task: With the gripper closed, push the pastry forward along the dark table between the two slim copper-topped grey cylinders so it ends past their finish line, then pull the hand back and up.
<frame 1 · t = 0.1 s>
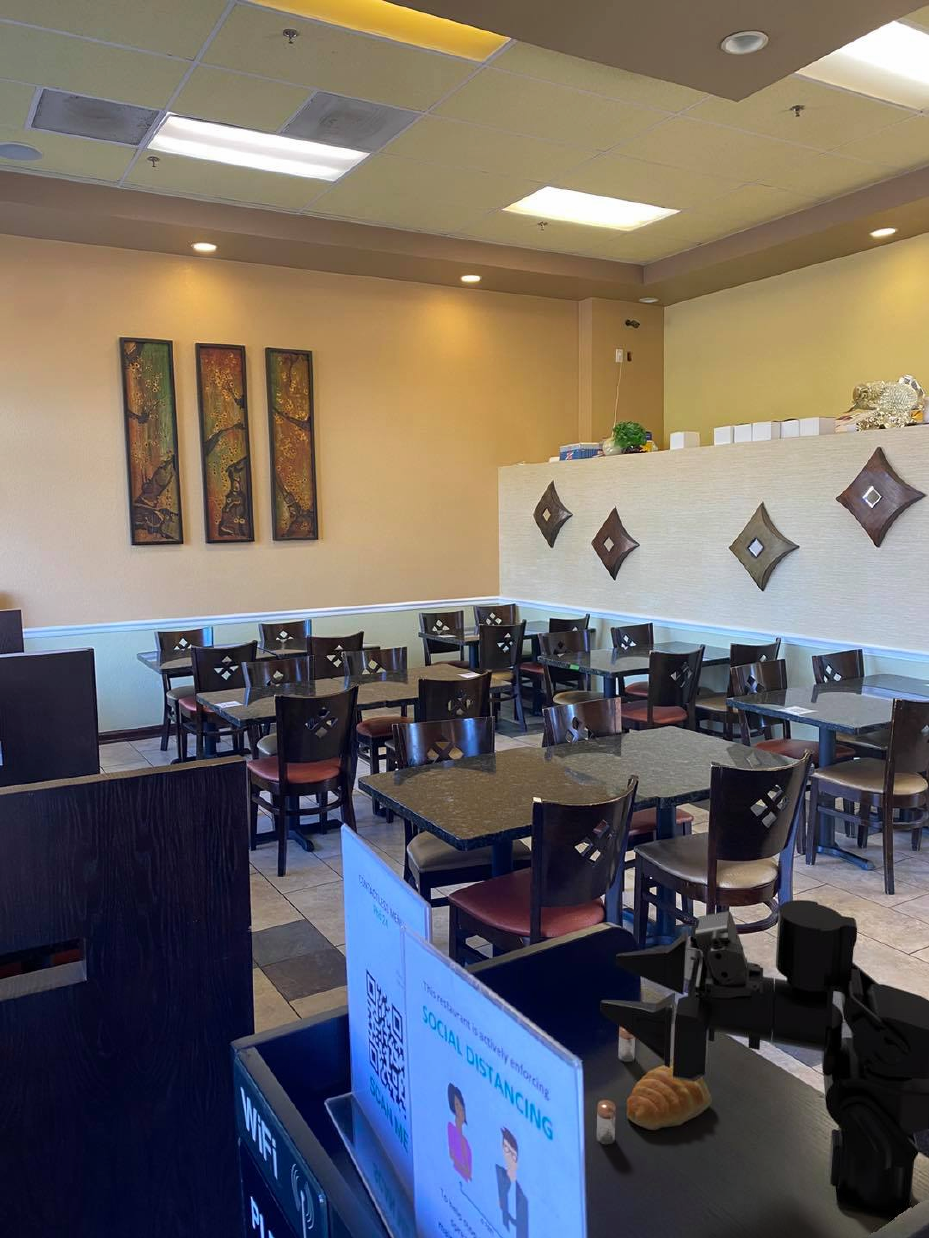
hand: (608, 981, 92), 17 cm above the table, tool horizontal, fingers open, 9 cm apart
pastry: (668, 1109, 98), on the table
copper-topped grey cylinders: (616, 1094, 100), on the table
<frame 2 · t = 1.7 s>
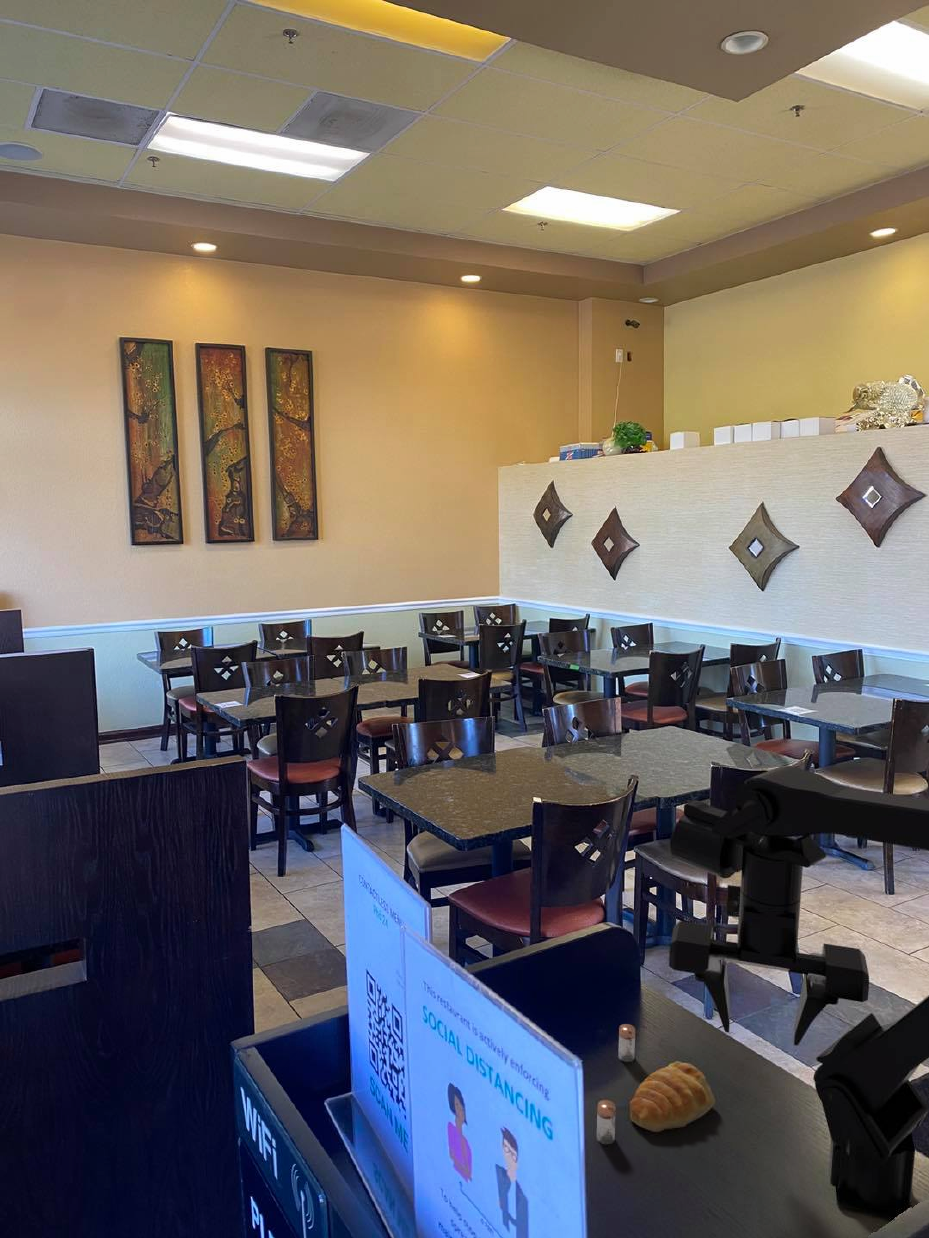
hand: (761, 1036, 94), 10 cm above the table, tool pointing down, fingers open, 6 cm apart
nothing on the table moved.
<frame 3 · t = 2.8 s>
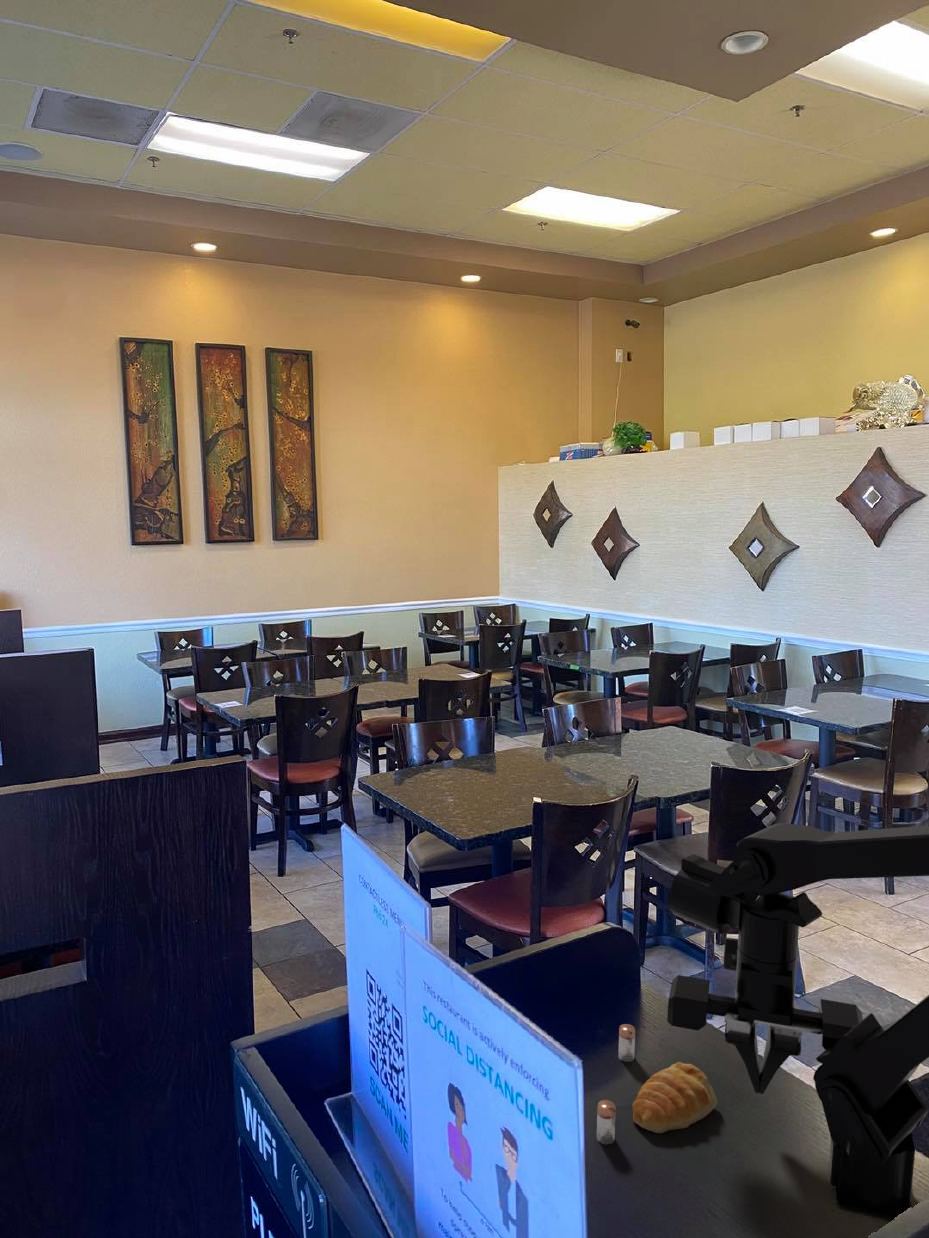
hand: (759, 1090, 95), 4 cm above the table, tool pointing down, fingers closed
nothing on the table moved.
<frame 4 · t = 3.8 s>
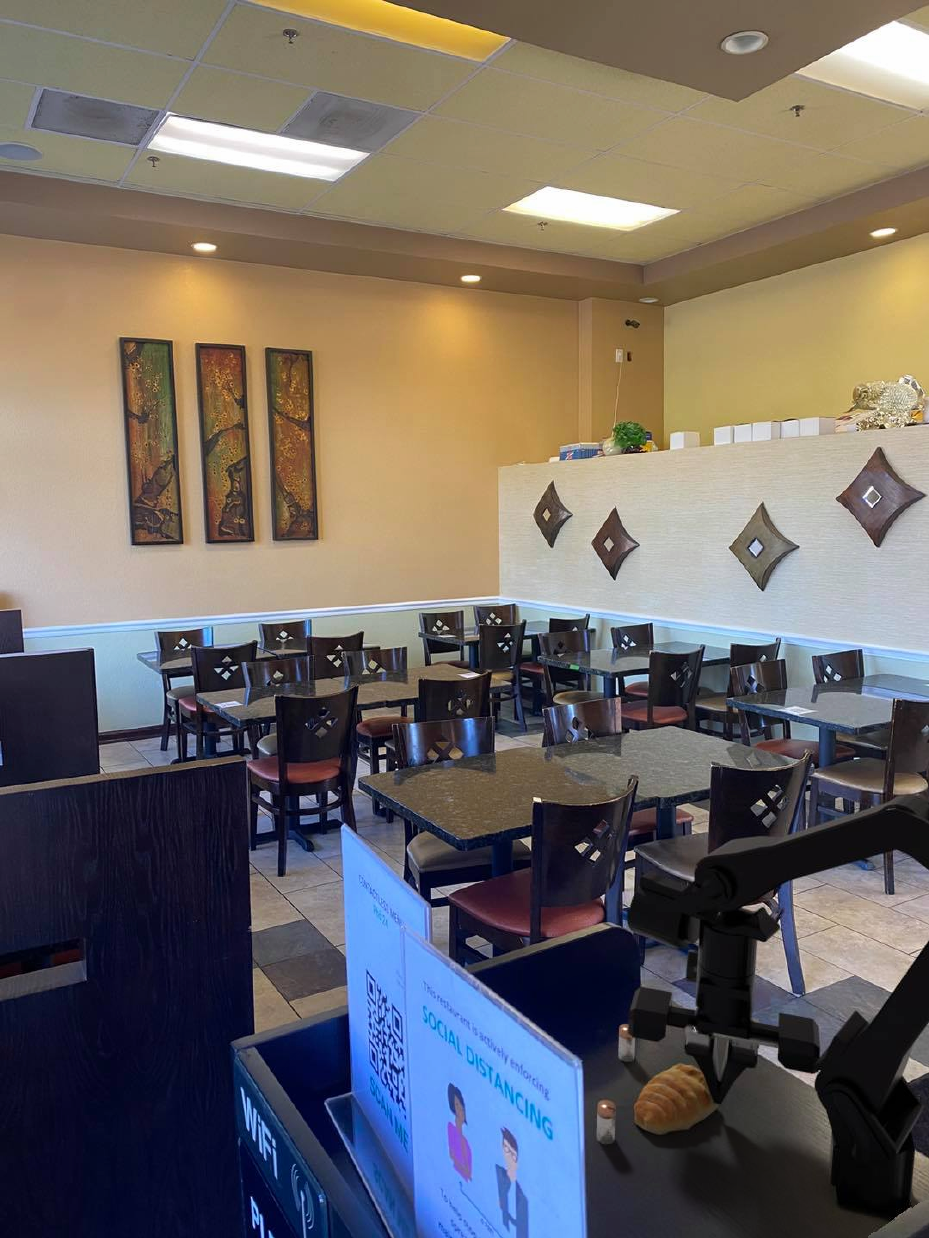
hand: (717, 1101, 97), 2 cm above the table, tool pointing down, fingers closed
pastry: (675, 1114, 98), on the table, touching gripper
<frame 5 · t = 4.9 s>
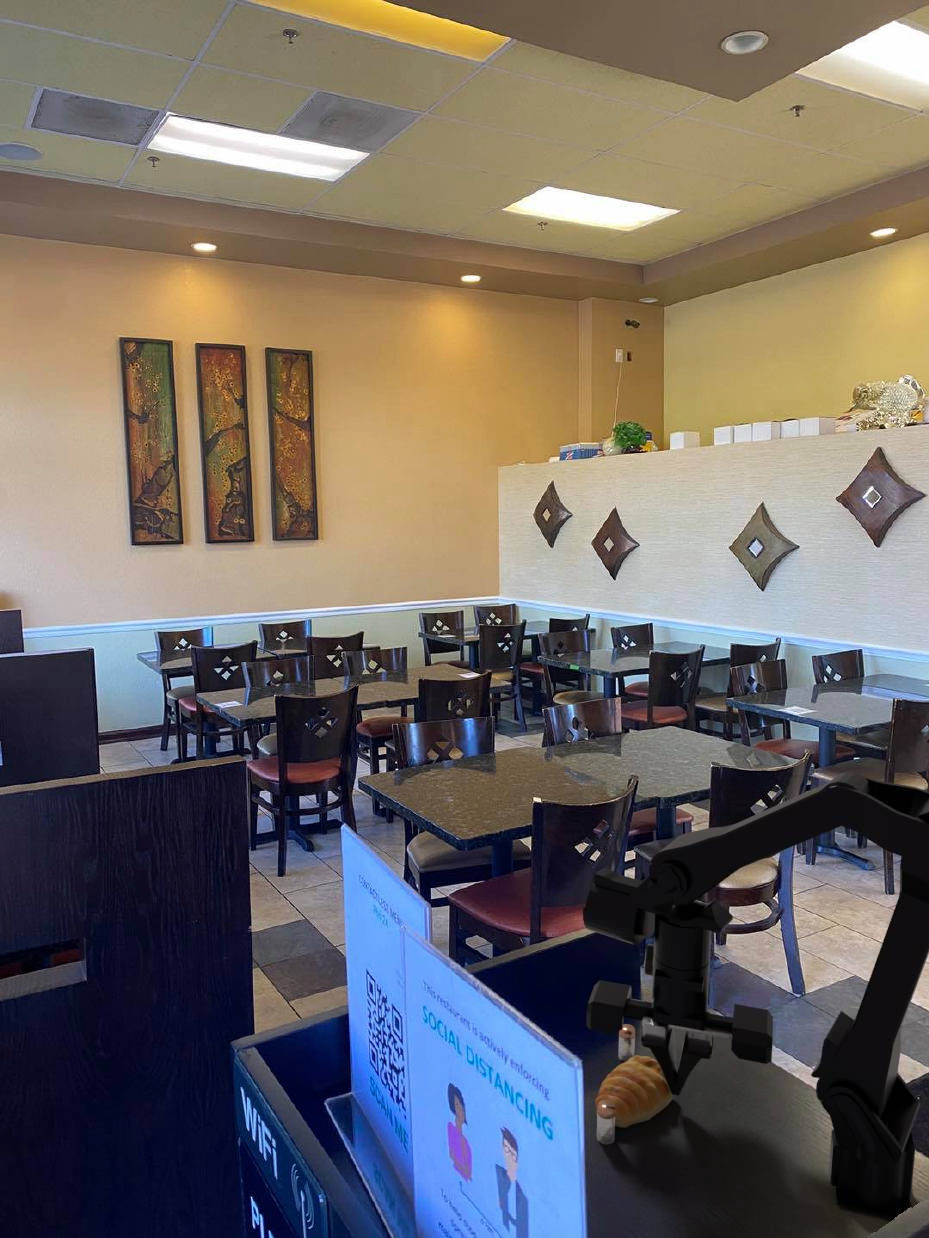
hand: (675, 1092, 98), 2 cm above the table, tool pointing down, fingers closed
pastry: (634, 1105, 99), on the table
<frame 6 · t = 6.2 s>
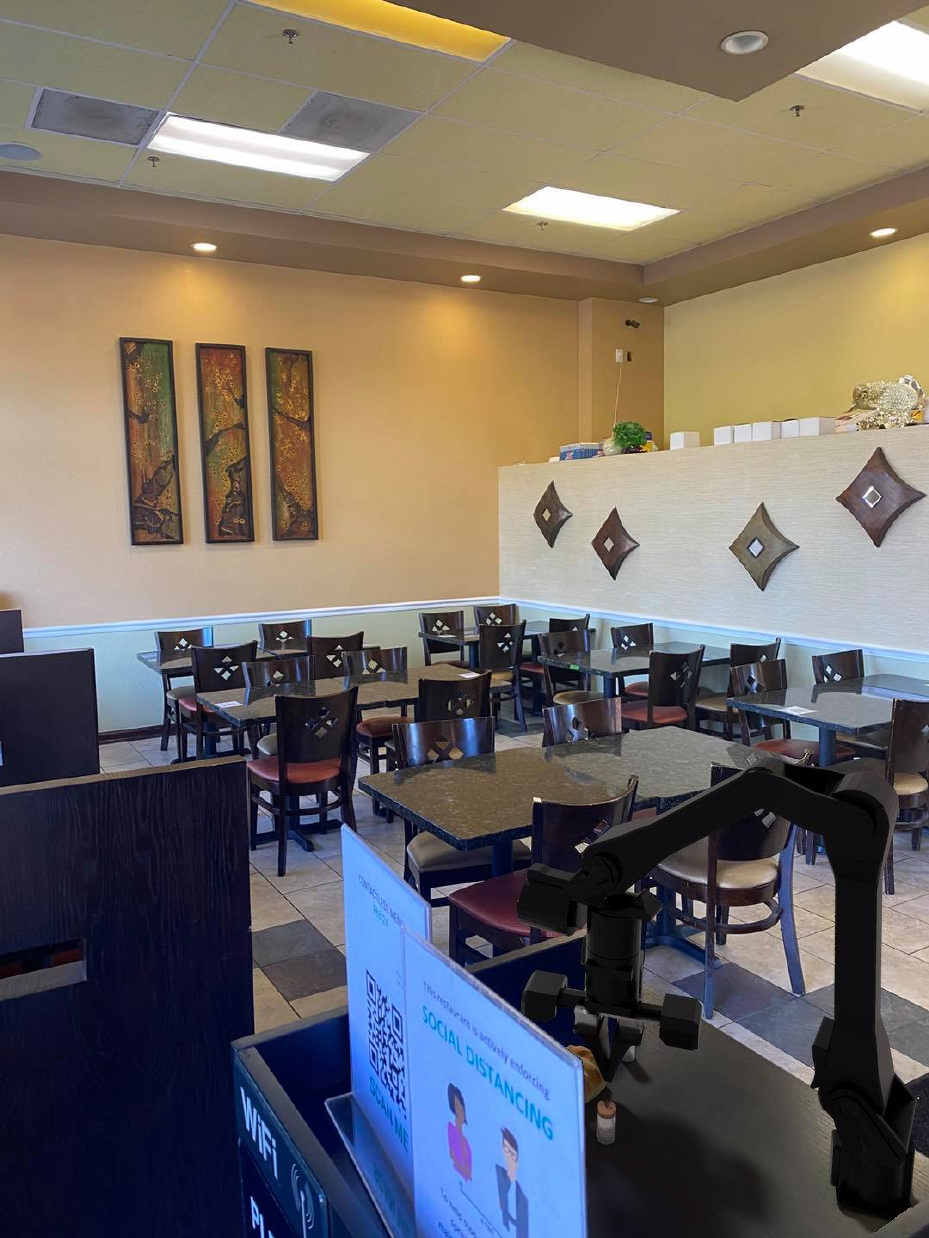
hand: (608, 1079, 100), 2 cm above the table, tool pointing down, fingers closed
pastry: (568, 1095, 101), on the table, touching gripper
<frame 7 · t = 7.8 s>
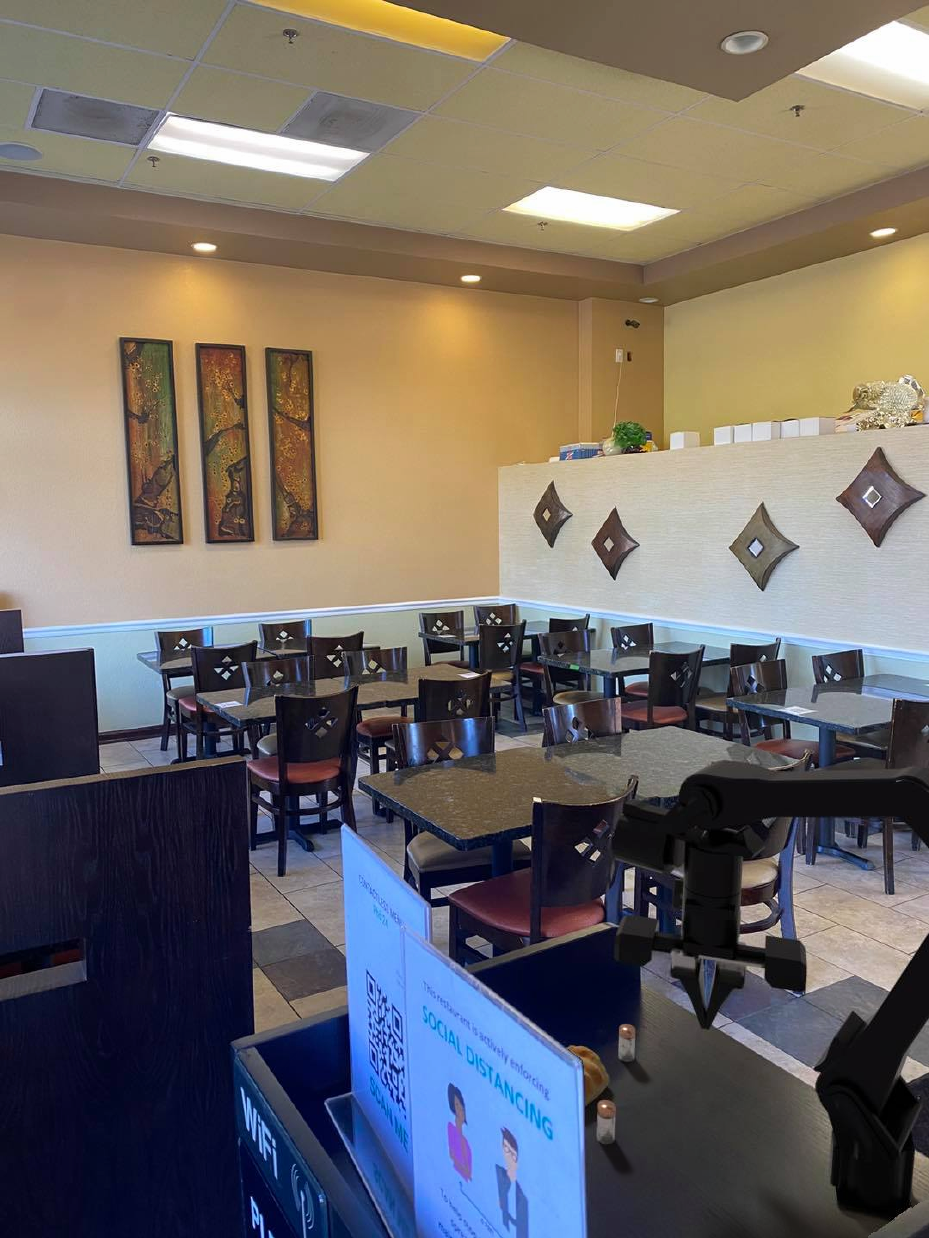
hand: (705, 1027, 96), 10 cm above the table, tool pointing down, fingers closed
pastry: (569, 1095, 101), on the table
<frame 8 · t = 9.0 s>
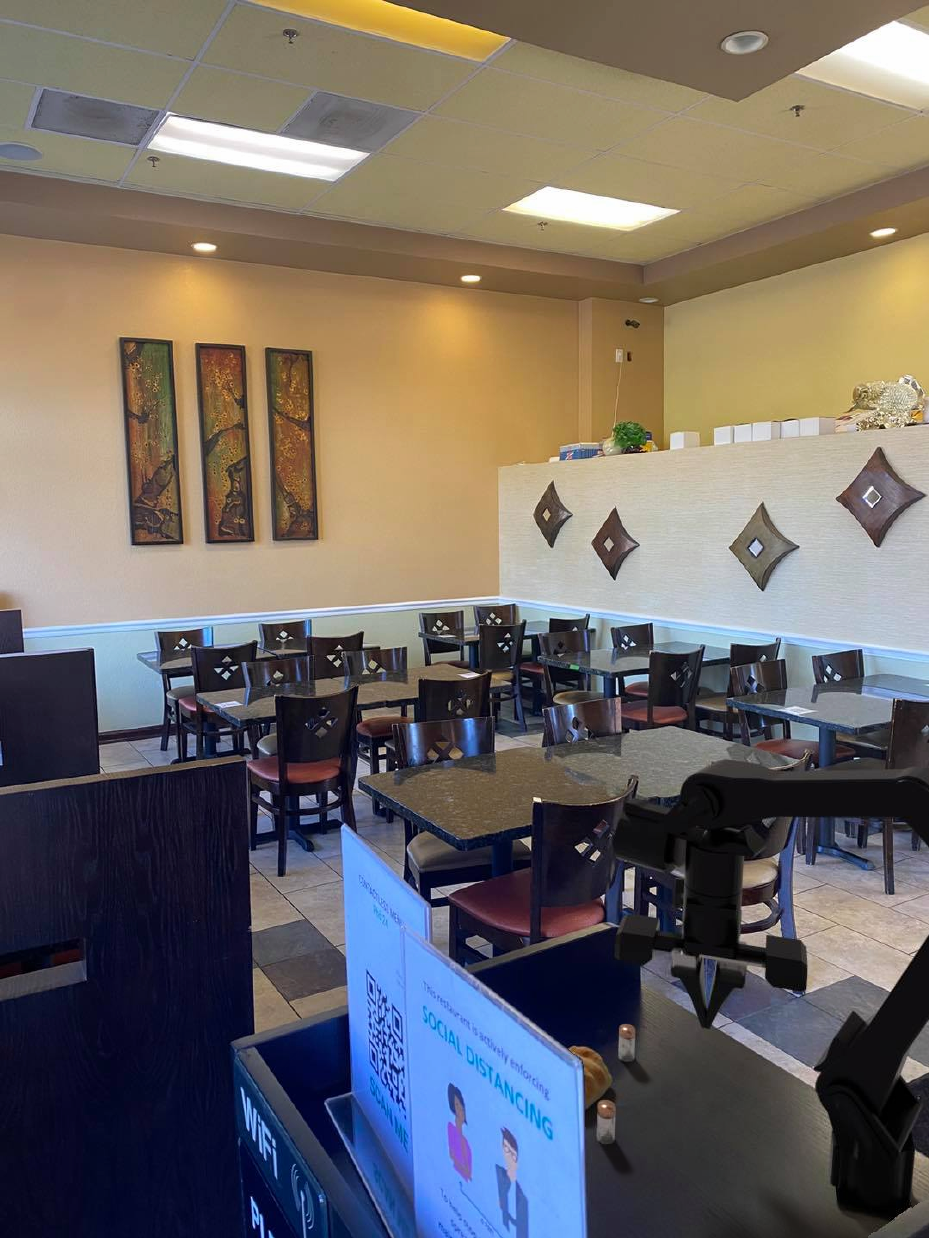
hand: (705, 1026, 96), 10 cm above the table, tool pointing down, fingers closed
nothing on the table moved.
at the end: pastry inside the target area (5.5 cm from its centre), on the table; the gripper is holding nothing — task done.
